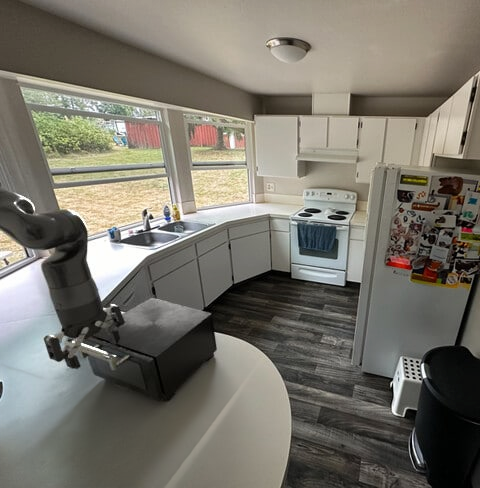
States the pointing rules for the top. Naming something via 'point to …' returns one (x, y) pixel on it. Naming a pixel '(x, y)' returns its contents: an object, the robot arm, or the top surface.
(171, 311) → the oven
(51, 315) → the top surface
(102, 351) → the oven door
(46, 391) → the top surface
